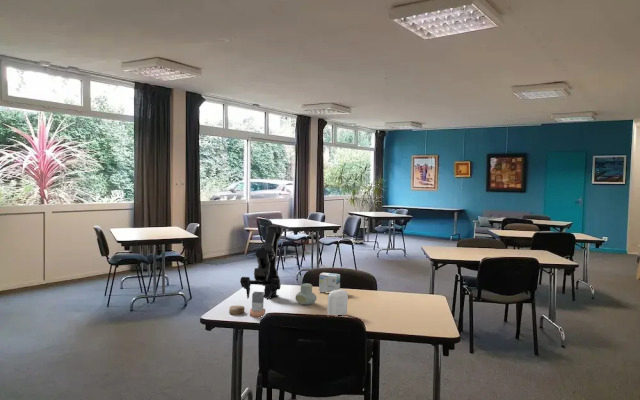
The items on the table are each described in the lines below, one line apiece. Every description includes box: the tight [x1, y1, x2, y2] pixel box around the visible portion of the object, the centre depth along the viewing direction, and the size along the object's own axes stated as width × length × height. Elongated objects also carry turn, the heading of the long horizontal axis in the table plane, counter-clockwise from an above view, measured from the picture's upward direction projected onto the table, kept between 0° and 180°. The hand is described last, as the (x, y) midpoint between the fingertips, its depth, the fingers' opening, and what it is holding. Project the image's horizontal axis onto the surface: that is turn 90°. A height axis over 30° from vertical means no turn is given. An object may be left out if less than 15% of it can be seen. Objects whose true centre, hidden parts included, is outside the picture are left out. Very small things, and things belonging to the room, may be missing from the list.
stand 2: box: [249, 308, 266, 319], centre depth 203 cm, size 7×7×2 cm
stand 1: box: [228, 304, 246, 316], centre depth 205 cm, size 7×7×2 cm
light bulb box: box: [318, 272, 341, 292], centre depth 249 cm, size 11×7×11 cm, turn 69°
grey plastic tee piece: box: [295, 283, 317, 306], centre depth 225 cm, size 11×8×10 cm
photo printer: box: [326, 288, 349, 316], centre depth 208 cm, size 10×4×12 cm, turn 123°
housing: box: [251, 291, 265, 312], centre depth 203 cm, size 4×4×8 cm
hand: (257, 298), depth 202 cm, fingers open, 9 cm apart
